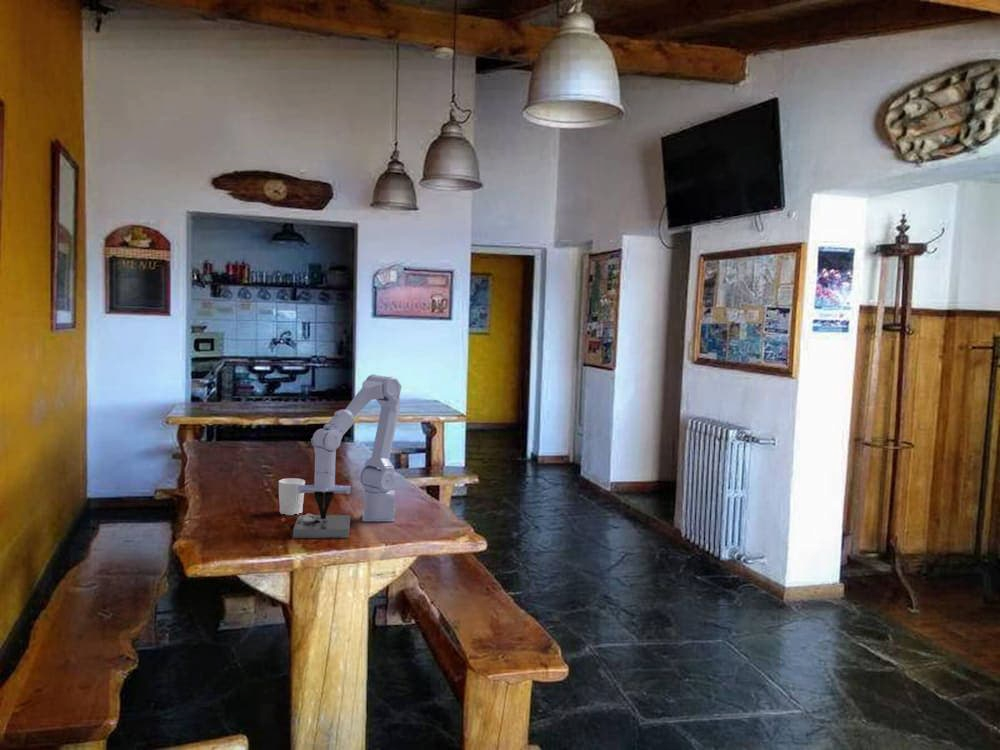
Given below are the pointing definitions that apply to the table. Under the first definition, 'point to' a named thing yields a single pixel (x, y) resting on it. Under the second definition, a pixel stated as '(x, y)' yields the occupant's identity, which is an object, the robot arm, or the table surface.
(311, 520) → the steel ball
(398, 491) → the table surface
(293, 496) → the white cup
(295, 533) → the hole plate
